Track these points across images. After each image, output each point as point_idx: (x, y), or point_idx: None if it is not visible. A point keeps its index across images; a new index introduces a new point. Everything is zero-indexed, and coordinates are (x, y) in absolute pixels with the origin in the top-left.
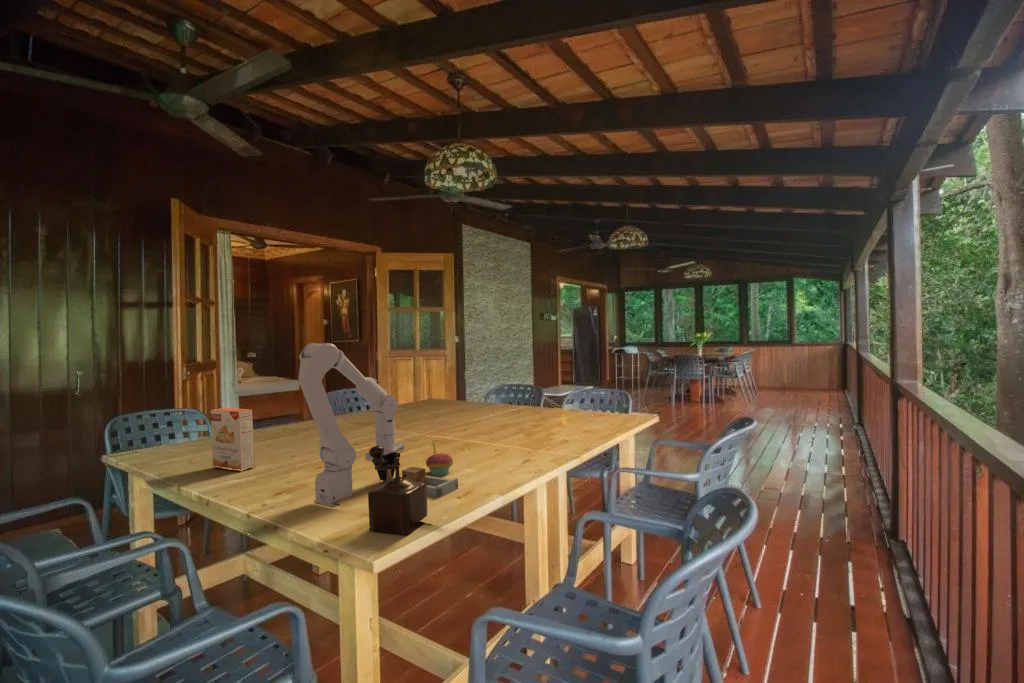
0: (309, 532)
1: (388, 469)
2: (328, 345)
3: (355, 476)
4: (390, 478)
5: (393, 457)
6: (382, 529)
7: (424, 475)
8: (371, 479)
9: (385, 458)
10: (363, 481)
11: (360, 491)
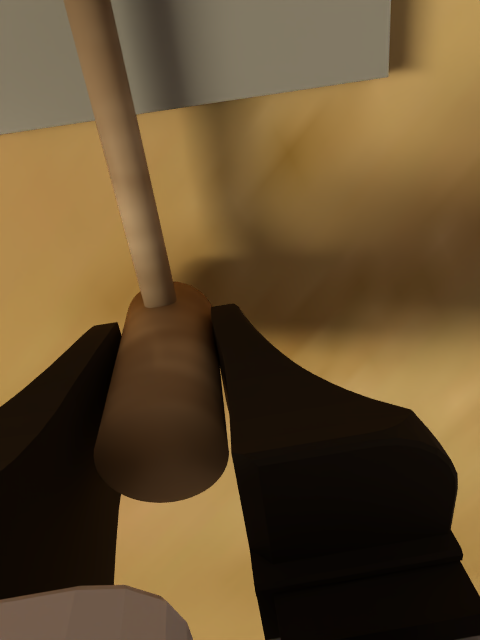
0: None
1: (178, 372)
2: None
3: (182, 611)
4: (167, 288)
5: (13, 531)
6: None
7: None
8: (152, 515)
9: (313, 511)
10: (220, 515)
11: (407, 355)
